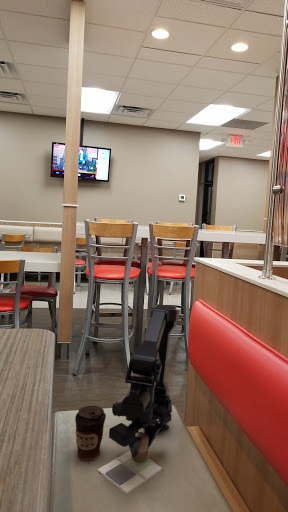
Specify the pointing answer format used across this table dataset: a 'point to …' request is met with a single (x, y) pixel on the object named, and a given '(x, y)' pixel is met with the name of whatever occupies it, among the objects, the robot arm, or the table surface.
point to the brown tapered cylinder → (142, 448)
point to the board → (129, 472)
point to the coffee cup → (89, 431)
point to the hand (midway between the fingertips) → (140, 453)
